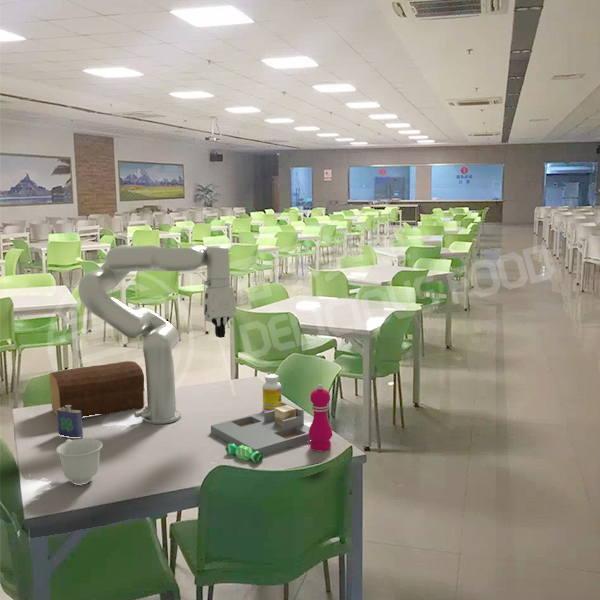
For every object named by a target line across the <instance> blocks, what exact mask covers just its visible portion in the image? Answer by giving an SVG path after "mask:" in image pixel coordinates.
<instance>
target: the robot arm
mask: <svg viewBox="0 0 600 600" xmlns="http://www.w3.org/2000/svg"><path fill="white" fill-rule="evenodd" d="M202 267H206V276H207V278H206V280H204V282H203V284H204V286H207V287H205V289H204V297H203V298H204V300H203V301H204V302H203V312H204V313H203V314H204V316H205V317H204V321H205V322H209V323H212V325H214V329H215V330H214V333H215V337H217V338H221V339H222V338H225V337H226V336H225V335H226V325H227V323H228V322H229V320H231V319H234V318H235V315H236V313H237V307H236V306H237V305H236V298H235V292H234V287H233V286H231V273H230V272H231V270H230V250H229V248H228V246H226V245H212V246H209V245H201V244H194V245H190V246H188V247H178V248H177V247H176V248H175V247H169V248H167V247H159V246H158V245H153V244H152V245H130V244H121V245H117V246H114V247H112V248H110V249H109V251H107V253H106V256H105V262H104V263H103V264H102V265H101V266H100V267H99V268H97V269H94V270H91V271H89V272H87V273H85V274H84V275H83V276H82V277H81V279H80V281H79V283H78V296H79V299H80V301H81V303H82V305H83V306H84V307H85V308H86V309H87V311H89V312H90V313H91V314H93V315H95V316H96V317H97V318H98V319H100V320H102V321H104V322H105V323H106V324H107V325H109V326H110V327H112V328H113V329H115V330H116V331H118V332H119V333H120V334H122V335H124V336H125V337H126V338H129V339H137V338H140V337H142V338H144V339H143V341H142V352H143V358H144V365H145V376H146V377H145V380H146V396H147V397H146V398H147V399H146V400H147V405H146V406H145V405H144V409H142V410H139V411H135V412H134V418H139V417H140V418H141V419H143V420H144V422H145V423H148V424H153V425H163V424H171V423H173V422H176V421H178V420H179V419H181V417H182V415H181V414H182V413H181V412H180V411H179V410H177V403H176V383H175V382H176V378H175V376H176V375H175V364H174V358H173V349H175V347H176V346H177V345H178V343H179V341H180V340H179V338H180V334H179V332H178V330H177V328H176V327H175V326H174V325H173V324H171V323H170V322H169V321H167V320H166V319H164V318H163V317H161V316H159V314H157V313H156V312H154V311H152V310H151V309H149V308H147V307H143V306H135V307H133V308H131V307H129V306H128V305H127V304H124V303H123V302H122V301H120V300H119V299H117V298H115V297H113V296H111V295H109V294H108V292H110V291H112V290H114V289H115V288H116V287H118V285H119V284H120V283H121V282H122V280H123V279H125V278H126V277H127V276H128V275H129V273H131V272H187V271H188V272H190V271H195V270H197V269H199V268H202Z"/></svg>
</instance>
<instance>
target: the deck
mask: <svg viewBox="0 0 600 600" xmlns="http://www.w3.org/2000/svg"><path fill="white" fill-rule="evenodd" d="M285 405H288V406H291V407H293V408H295V409H296V417H292V418H288V419H285V420H282V426H281V425H279V424H277V423H275V410H269V411H265V412H264V411H261V412H258V413H254V414H250V415H247V416H242V417H238V418H233V419H231V420H227V421H224V422H219V423H215V424H211V425H210V434H212V435H214V436H216V437H217V438H220V439H221V440H224V441H225V442H227V444H228V443H234V444H235V445H236V446H237V447H238V446H241V445H244V446H247V447H250V448H252V451H253V452H256V451H259V452H262V454H263V456H265V455H268V454H272V453H274V452H278V451H282V450H285V449H289V448H292V447H295V446H298V445H301V443H302V444H304V443H307V441H308V442H311V441H310V440H311V438H310V437H309V429H310V426H309V425H305V424H304V423H305V415H304V414H305V411H304V408H303V409H302V408H300V407H298V406H296V405H293V404H291V403H288V402H286V401H281V406H285Z"/></svg>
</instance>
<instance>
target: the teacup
mask: <svg viewBox="0 0 600 600" xmlns="http://www.w3.org/2000/svg"><path fill="white" fill-rule="evenodd" d="M101 448H103V442H101V441H100V440H99V439H95V438H94V439H93V438H81V439H71V438H67V439H66V440H65V442H64V443H60V444H59V445H58V446H57V448H56V450H55V451H56V454H58V455H59V458H60V463H61V468H62V473H63V475H64V476H65V478H67V479H68V480H70V483H71V482H72V483H76V484H82V483H87V482H89V481H91V480H92V478H93V477H94V476H96V475H97V473H98V471H99V467H100V453H101Z"/></svg>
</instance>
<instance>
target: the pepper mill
mask: <svg viewBox="0 0 600 600" xmlns="http://www.w3.org/2000/svg"><path fill="white" fill-rule="evenodd" d="M316 387H317V388H316V389H313V390H312V392H311V393H310V399H309V400H310V402H311V403H312V404H311V410H312V411H313V419H312V421H311V424H310V426H309V427H310V429H309V437H310V438H311V441H309V442H310V449H312V450H313V451H316V450H317V451H318V452H324V451H325V452H326V451H328V450H330V449H331V447H332V444H331V443H332V441H331V439H332V437H333V429H332V426H331V424H330V421H329V418H328V410H329V406H330V405H329V402H330V400H331V394H330V392H329V391H328V390H327V389H325V388H324V385H323V384H321V383H319V384H318V385H316Z"/></svg>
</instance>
